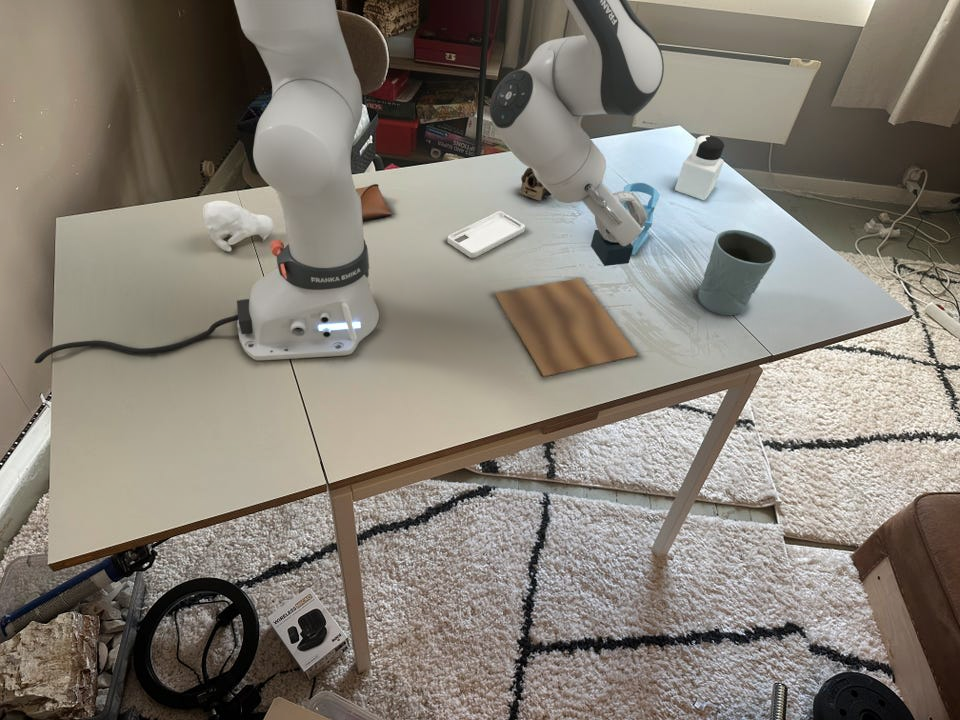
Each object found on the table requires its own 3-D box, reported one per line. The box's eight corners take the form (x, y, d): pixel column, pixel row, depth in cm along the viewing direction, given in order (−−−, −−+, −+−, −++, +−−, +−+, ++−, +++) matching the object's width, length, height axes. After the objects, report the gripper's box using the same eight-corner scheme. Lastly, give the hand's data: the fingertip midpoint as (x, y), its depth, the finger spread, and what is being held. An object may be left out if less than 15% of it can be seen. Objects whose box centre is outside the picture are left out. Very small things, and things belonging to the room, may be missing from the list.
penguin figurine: (198, 195, 114) (268, 190, 118) (205, 236, 119) (271, 230, 124) (203, 213, 110) (275, 208, 114) (209, 255, 115) (278, 248, 120)
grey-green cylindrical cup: (683, 288, 119) (704, 233, 110) (728, 279, 122) (751, 225, 113) (715, 323, 112) (740, 267, 104) (762, 312, 115) (789, 258, 107)
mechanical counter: (512, 160, 138) (528, 173, 130) (567, 150, 140) (586, 163, 132) (514, 192, 142) (530, 207, 134) (567, 182, 145) (586, 196, 136)
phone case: (472, 259, 121) (525, 231, 129) (472, 253, 120) (526, 225, 128) (446, 241, 124) (499, 215, 132) (446, 236, 123) (500, 210, 131)
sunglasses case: (310, 235, 121) (300, 199, 119) (301, 234, 128) (291, 201, 125) (396, 214, 129) (388, 180, 127) (384, 214, 135) (376, 182, 133)
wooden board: (543, 377, 100) (543, 375, 100) (495, 295, 114) (495, 293, 113) (637, 356, 105) (637, 354, 105) (580, 279, 118) (580, 278, 118)
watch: (639, 262, 103) (659, 202, 96) (594, 267, 101) (610, 207, 94) (624, 241, 107) (642, 183, 99) (580, 246, 105) (595, 187, 97)
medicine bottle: (714, 188, 147) (732, 138, 138) (704, 201, 142) (722, 150, 134) (684, 178, 149) (700, 128, 141) (674, 190, 145) (690, 140, 136)
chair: (606, 250, 126) (620, 196, 118) (610, 227, 132) (624, 174, 123) (645, 257, 125) (662, 203, 117) (648, 235, 131) (664, 182, 122)
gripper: (626, 191, 82) (668, 245, 92) (559, 121, 95) (602, 174, 105) (588, 225, 84) (634, 274, 94) (528, 152, 97) (573, 201, 107)
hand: (616, 221), depth 100 cm, fingers closed on watch, 4 cm apart
